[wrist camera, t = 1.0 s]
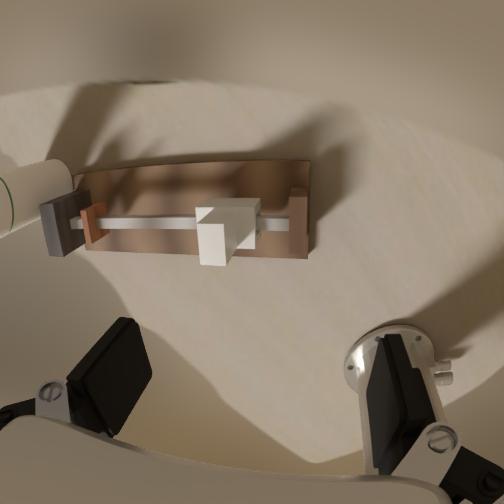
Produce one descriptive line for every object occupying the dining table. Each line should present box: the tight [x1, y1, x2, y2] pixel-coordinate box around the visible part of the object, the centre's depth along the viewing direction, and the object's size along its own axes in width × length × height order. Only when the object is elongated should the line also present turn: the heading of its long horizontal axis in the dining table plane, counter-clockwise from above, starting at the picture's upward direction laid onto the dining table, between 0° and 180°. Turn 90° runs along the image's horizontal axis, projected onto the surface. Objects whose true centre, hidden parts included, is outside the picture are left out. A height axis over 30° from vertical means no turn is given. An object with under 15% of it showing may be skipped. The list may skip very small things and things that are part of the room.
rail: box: [39, 160, 310, 259], centre depth 30 cm, size 28×10×8 cm, turn 92°
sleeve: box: [195, 198, 261, 266], centre depth 26 cm, size 5×4×8 cm
